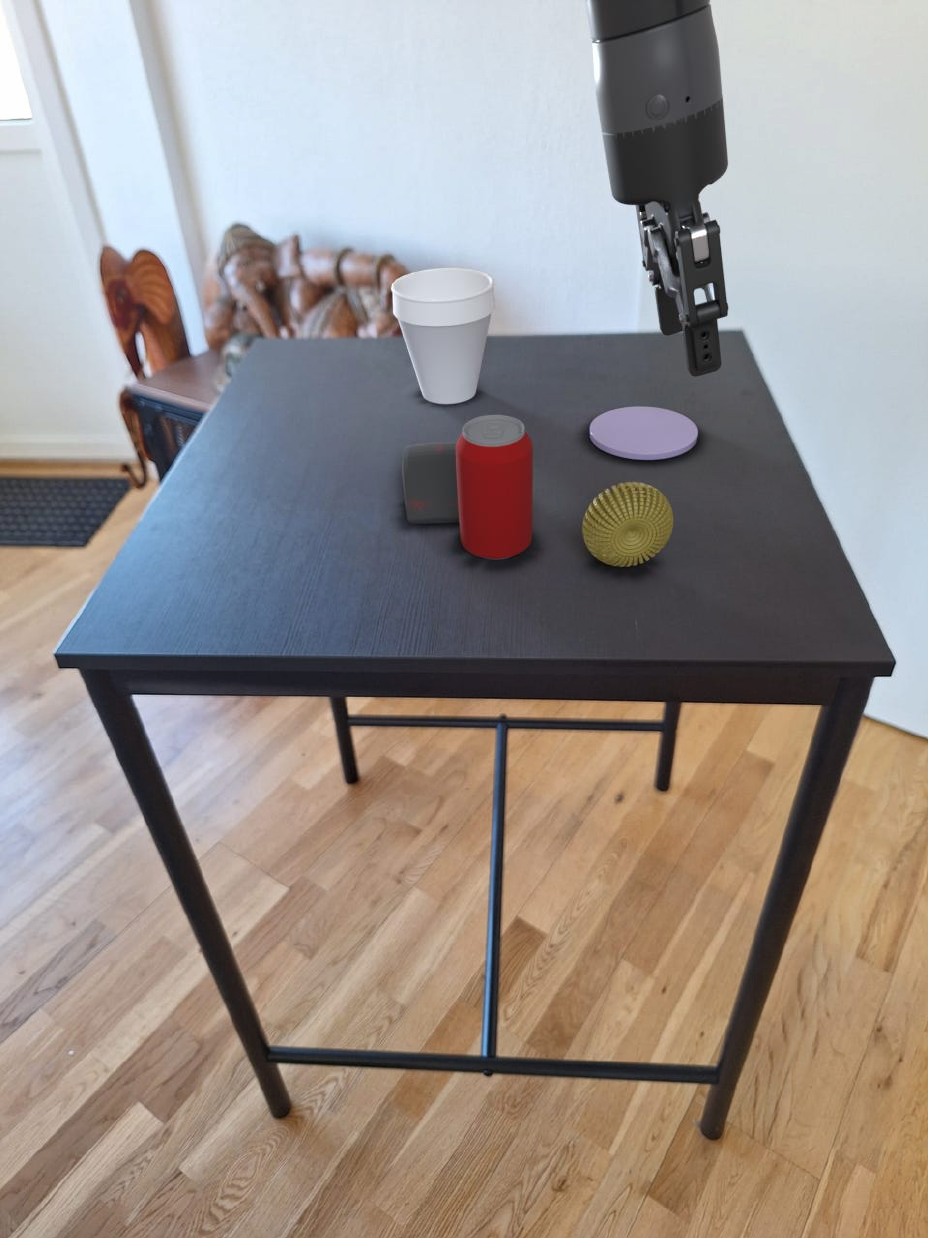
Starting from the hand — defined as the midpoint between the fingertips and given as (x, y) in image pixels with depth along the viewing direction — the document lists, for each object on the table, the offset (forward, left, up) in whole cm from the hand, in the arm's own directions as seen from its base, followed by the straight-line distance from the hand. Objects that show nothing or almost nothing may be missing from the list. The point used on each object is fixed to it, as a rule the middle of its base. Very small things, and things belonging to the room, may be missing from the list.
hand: (689, 350), depth 62 cm
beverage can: (+16, +1, -20) cm, 26 cm away
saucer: (+8, -25, -20) cm, 33 cm away
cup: (+34, -30, -20) cm, 49 cm away
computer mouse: (+25, -7, -20) cm, 33 cm away
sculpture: (+4, 0, -20) cm, 21 cm away
